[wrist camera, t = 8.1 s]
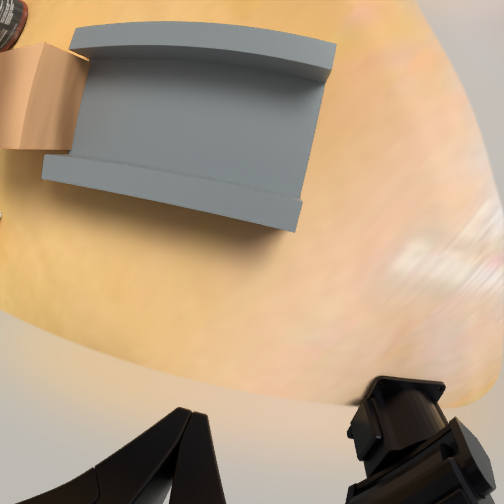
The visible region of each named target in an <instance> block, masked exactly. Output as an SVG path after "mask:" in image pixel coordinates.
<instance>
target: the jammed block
mask: <svg viewBox="0 0 504 504" xmlns="http://www.w3.org/2000/svg"><path fill="white" fill-rule="evenodd" d="M90 66H91V63H90V62H88V61H86V60H84V59H82V58H79V57H77V56H75V55H73V54H71V53H68V52H66V51H64V50H61V49H59V48H57V47H54V46H52V45H50V44H47V43H45V42H44V43H39V44H34V45H30V46H25V47H21V48H16V49H12V50H9V51H5V52H1V53H0V148H10V149H49V150H72V144H73V138H74V133H75V128H76V123H77V118H78V113H79V109H80V104H81V100H82V96H83V92H84V88H85V84H86V80H87V77H88V73H89V69H90Z"/></svg>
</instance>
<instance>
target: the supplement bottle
mask: <svg viewBox="0 0 504 504" xmlns="http://www.w3.org/2000/svg"><path fill="white" fill-rule="evenodd" d="M27 15H28V7H27V5H26V3H25V2H24V1H22V0H0V53H1V52H5V51H7V50H8V49H9V48H10V47H11V46H12V45H13V44H14V42H15V41H16V40H17V39H18V37H19V35H20V33H21V31H22V30H23V27H24V25H25V22H26V19H27Z"/></svg>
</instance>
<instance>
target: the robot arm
mask: <svg viewBox="0 0 504 504" xmlns="http://www.w3.org/2000/svg"><path fill="white" fill-rule="evenodd" d="M380 382H383V383H382V384H379V383H380ZM445 388H446V386H445V385H444V383H443V382H438V381H427V380H416V379H407V378H398V377H390V376H379V377H378V378H376V380H375V381H374V383H373V385H372V387H371V389H370V391H369V393H368V395H367V397H366V399H364V400H363V401H362V403H361V405H360V406H359V408H358V411H357V412H356V414H355V416H354V417H353V419H352V421H351V423H350V424H351V426H350V427H349V429H348V431H347V436H348V438H350V439H354V443H355V448H356V453H357V458H358V460H359V461H364V466H365V471H366V476H367V479H365V480H363V481H361V482H359V483H357V484H356V483H355V484H353V485H351V486H350V487H349V488H348V493H347V498H346V503H345V504H495V503H494V501H493V499H492V497H491V495H490V493H491V492H493V491H494V490H495V489H496V485H495V480H494V475H493V471H492V467H491V463H490V459H489V457H488V456H487V454H486V452H485V451H484V449H483V447H482V446H481V444H480V442H479V441H478V439H477V438H476V437H475V436H474V435H473V434H472V433H471V432H470V431H469V430H468V429H467V428H466V427H465V426H464V425H463V424H462V423H461V422H460V421H459V419H457V417H454V418H453V419H452V420H451V421H449V423H448V421H447V420H446V418H445V416H444V414H443V412H442V410H441V408H440V407H439V405H438V403H437V402H438V400H439V399H440V397H441V395H442V394H443V392H444V390H445ZM352 433H353V434H352ZM171 486H172V488H171V494H170V500H169V504H226V501H225V497H224V492H223V488H222V484H221V479H220V475H219V470H218V466H217V461H216V456H215V451H214V446H213V441H212V436H211V430H210V425H209V420H208V416H207V415H206V414H203V413H199V412H195V411H194V412H193V413H192V411H191V410H189V409H185V408H182V407H178V408H176V409H175V410H173V411H172V412H171V413H169V414H168V415H167V416H165V417H164V418H163V419H161V420H160V421H159V422H157V423H156V424H155V425H153V426H152V427H150V428H149V429H148V430H146V431H145V432H143V433H142V434H141V435H139V436H138V437H137V438H135V439H134V440H132V441H131V442H130V443H128V444H127V445H125V446H124V447H122V448H121V449H119V450H118V451H116V452H115V453H114V454H112V455H111V456H109V457H108V458H106V459H105V460H103V461H102V462H100V463H99V464H97V465H96V466H95V468H91V469H89V470H88V471H86V472H85V473H83V474H81V475H80V476H78V477H76V478H75V479H73V480H71V481H69V482H67V483H65V484H63V485H61V486H59V487H57V488H54V489H52V490H50V491H48V492H45V493H43V494H40V495H37V496H35V497H32V498H30V499H27V500H24V501H22V502H19V503H16V504H163V502H164V500H165V498H166V496H167V493H168V492H169V490H170V487H171Z"/></svg>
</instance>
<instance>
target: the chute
mask: <svg viewBox="0 0 504 504" xmlns="http://www.w3.org/2000/svg"><path fill="white" fill-rule="evenodd" d="M336 45H337V44H334V43H330V42H326V41H322V40H318V39H314V38H310V37H305V36H300V35H296V34H291V33H285V32H280V31H274V30H268V29H261V28H254V27H247V26H238V25H229V24H218V23H203V22H176V21H157V22H130V23H115V24H105V25H95V26H87V27H80V28H76V29H75V32H74V35H73V38H72V41H71V44H70V47H69V50H71V51H73V52H75V53H77V54H80V55H82V56H84V57H86V58H88V59H90V60H89V62H90V63H91V66H90V69H89V73H88V77H87V80H86V84H85V88H84V92H83V96H82V100H81V104H80V109H79V113H78V118H77V123H76V128H75V133H74V138H73V144H72V150H69V152H68V154H44V160H43V168H42V176H41V179H45V180H50V181H56V182H61V183H67V184H72V185H77V186H83V187H88V188H93V189H98V190H103V191H108V192H113V193H118V194H123V195H128V196H133V197H138V198H143V199H148V200H152V201H157V202H162V203H167V204H171V205H176V206H181V207H185V208H190V209H195V210H199V211H204V212H208V213H213V214H217V215H222V216H226V217H230V218H235V219H239V220H243V221H248V222H252V223H256V224H261V225H265V226H269V227H273V228H278V229H282V230H286V231H290V232H294V233H295V230H296V226H297V222H298V218H299V214H300V210H301V206H302V200H301V199H300V194H301V190H302V186H303V182H304V177H305V173H306V169H307V164H308V160H309V156H310V151H311V147H312V142H313V138H314V133H315V129H316V124H317V120H318V115H319V110H320V106H321V101H322V96H323V92H324V87H325V83H326V81H327V79H328V76H329V74H330V72H331V70H332V66H333V61H334V55H335V50H336Z"/></svg>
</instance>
